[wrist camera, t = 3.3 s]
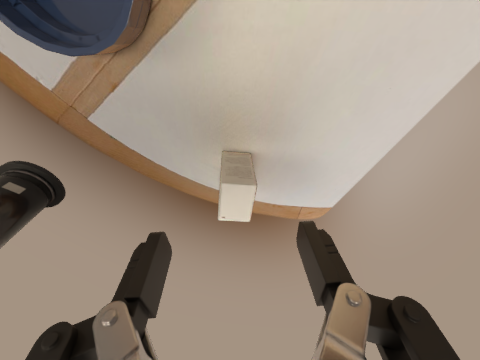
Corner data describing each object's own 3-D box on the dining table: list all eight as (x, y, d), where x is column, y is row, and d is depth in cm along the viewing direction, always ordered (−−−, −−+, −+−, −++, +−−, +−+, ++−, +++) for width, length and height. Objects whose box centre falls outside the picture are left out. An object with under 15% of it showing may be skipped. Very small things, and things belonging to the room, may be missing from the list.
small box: (245, 185, 42) (250, 223, 34) (219, 184, 42) (217, 221, 33) (251, 152, 38) (258, 185, 29) (221, 149, 37) (220, 183, 29)
